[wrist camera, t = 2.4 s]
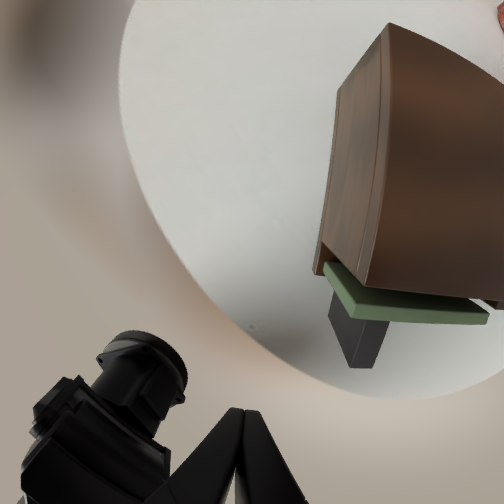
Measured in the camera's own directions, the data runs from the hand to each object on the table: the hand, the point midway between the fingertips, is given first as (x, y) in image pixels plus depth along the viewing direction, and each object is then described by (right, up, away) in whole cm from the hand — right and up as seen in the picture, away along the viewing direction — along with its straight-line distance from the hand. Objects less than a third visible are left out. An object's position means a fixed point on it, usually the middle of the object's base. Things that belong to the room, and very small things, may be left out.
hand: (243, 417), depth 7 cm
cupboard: (+14, +8, +9) cm, 19 cm away
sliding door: (+9, +2, +10) cm, 13 cm away
